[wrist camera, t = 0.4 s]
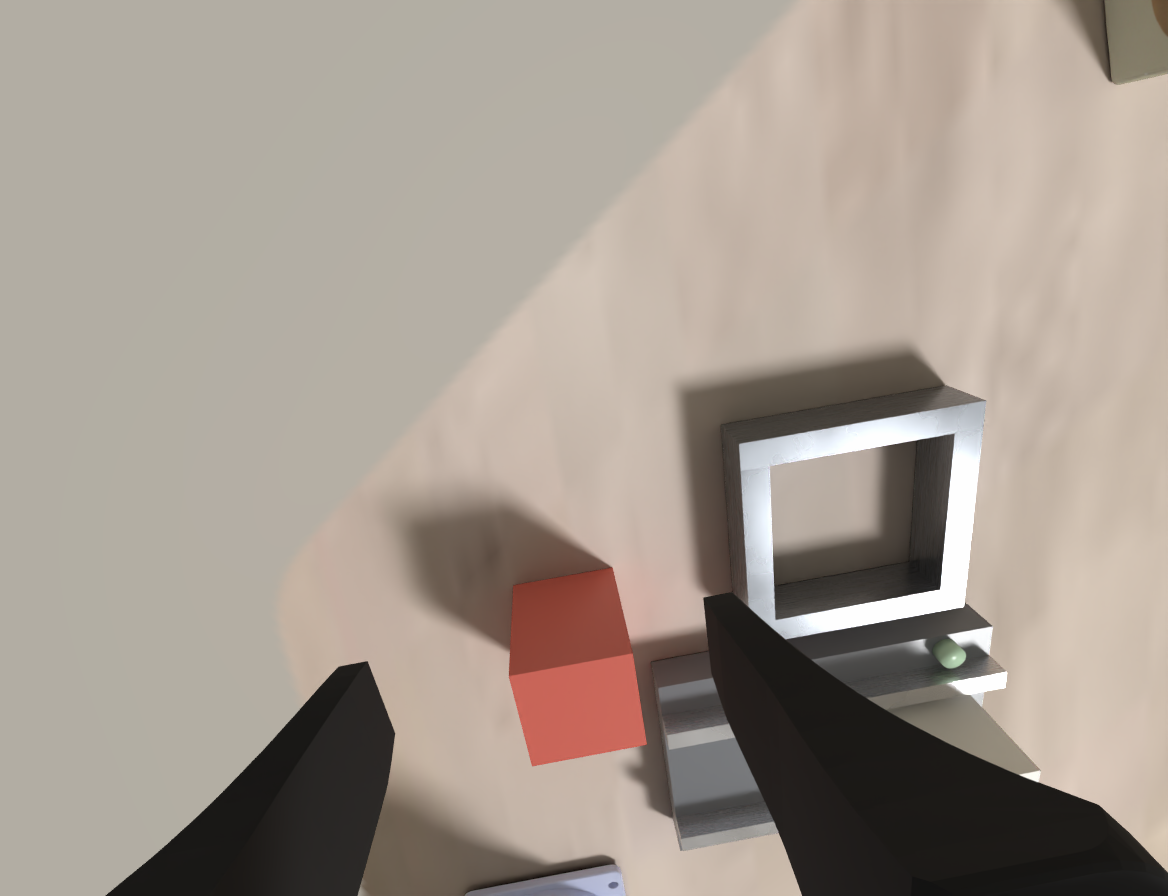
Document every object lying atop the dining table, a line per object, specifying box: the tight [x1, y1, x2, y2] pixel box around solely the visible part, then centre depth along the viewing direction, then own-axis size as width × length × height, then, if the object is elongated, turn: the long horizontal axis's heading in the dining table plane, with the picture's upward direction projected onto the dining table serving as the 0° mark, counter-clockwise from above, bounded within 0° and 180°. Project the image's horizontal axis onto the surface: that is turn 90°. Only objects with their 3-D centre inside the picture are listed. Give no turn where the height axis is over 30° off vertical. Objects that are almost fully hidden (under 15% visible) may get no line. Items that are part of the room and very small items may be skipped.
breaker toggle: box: [886, 694, 1041, 782], centre depth 24 cm, size 4×4×4 cm
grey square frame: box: [721, 385, 986, 639], centre depth 22 cm, size 8×8×2 cm
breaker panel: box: [651, 604, 1007, 851], centre depth 26 cm, size 10×14×2 cm
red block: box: [509, 568, 647, 766], centre depth 21 cm, size 4×4×5 cm
